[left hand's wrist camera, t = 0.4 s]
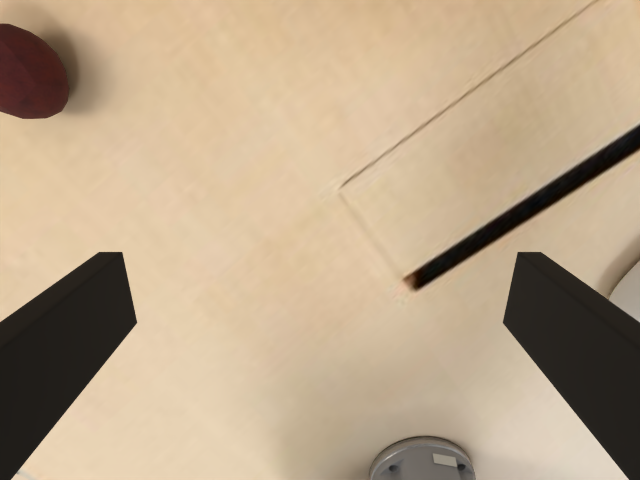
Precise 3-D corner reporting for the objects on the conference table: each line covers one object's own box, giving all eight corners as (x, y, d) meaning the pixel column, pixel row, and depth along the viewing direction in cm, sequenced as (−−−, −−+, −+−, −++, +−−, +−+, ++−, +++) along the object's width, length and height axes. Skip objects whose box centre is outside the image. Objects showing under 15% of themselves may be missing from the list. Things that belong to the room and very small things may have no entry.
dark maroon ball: (39, 13, 34) (-29, -7, 27) (103, 88, 36) (54, 88, 29) (-13, 64, 35) (-89, 57, 29) (52, 133, 37) (-5, 142, 31)
